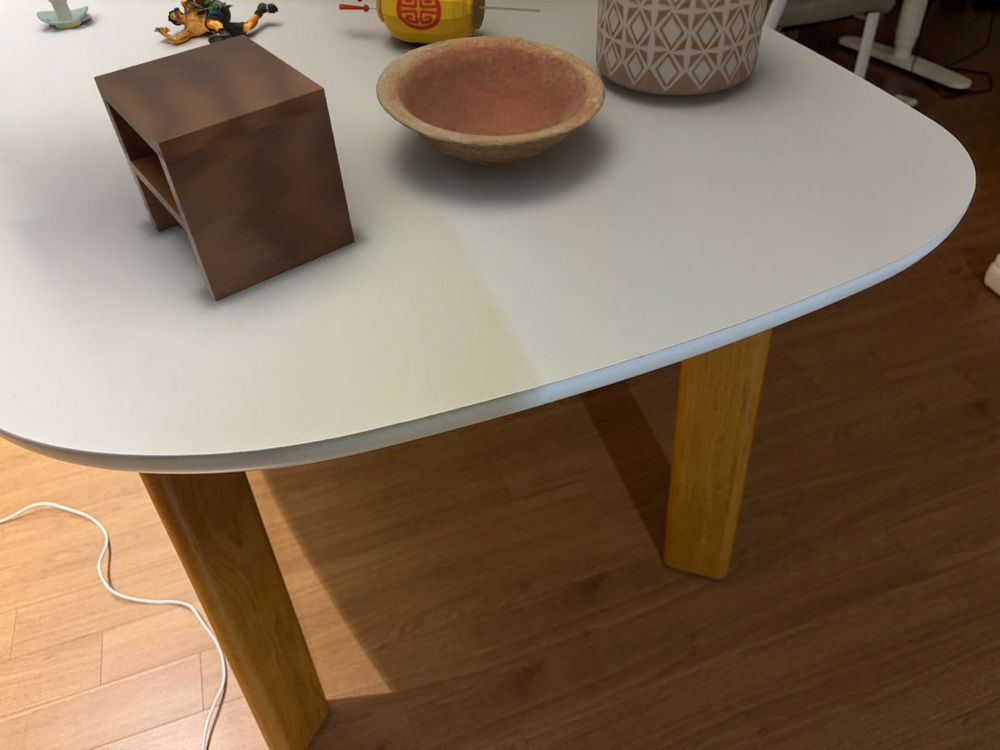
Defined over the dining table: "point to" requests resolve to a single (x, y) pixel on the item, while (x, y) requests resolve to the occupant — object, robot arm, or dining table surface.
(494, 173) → the dining table surface
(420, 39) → the lantern
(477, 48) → the bowl
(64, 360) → the dining table surface
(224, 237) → the shelf
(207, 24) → the action figure
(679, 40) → the planter
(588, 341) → the dining table surface
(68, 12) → the pacifier
